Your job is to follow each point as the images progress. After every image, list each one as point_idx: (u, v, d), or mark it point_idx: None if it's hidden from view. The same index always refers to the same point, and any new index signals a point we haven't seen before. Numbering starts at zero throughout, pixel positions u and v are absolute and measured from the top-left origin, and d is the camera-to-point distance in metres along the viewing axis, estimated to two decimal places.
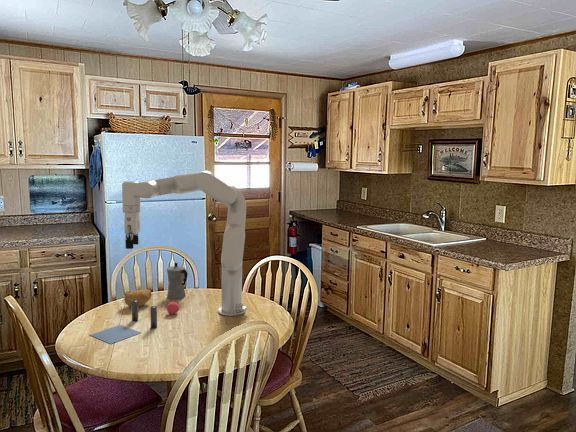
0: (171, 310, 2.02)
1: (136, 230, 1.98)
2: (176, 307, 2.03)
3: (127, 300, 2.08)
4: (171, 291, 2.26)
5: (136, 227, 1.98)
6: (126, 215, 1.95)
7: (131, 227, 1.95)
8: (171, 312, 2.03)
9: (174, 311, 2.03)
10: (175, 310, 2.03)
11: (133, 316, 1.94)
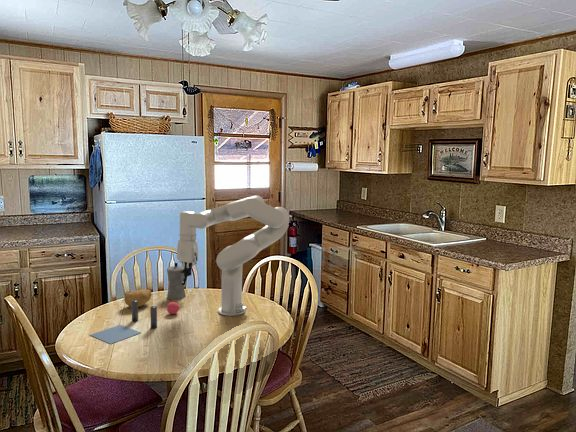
0: (171, 310, 2.02)
1: (178, 256, 2.09)
2: (176, 307, 2.03)
3: (127, 300, 2.08)
4: (171, 291, 2.26)
5: (179, 254, 2.09)
6: None
7: None
8: (171, 312, 2.03)
9: (174, 311, 2.03)
10: (175, 310, 2.03)
11: (133, 316, 1.94)
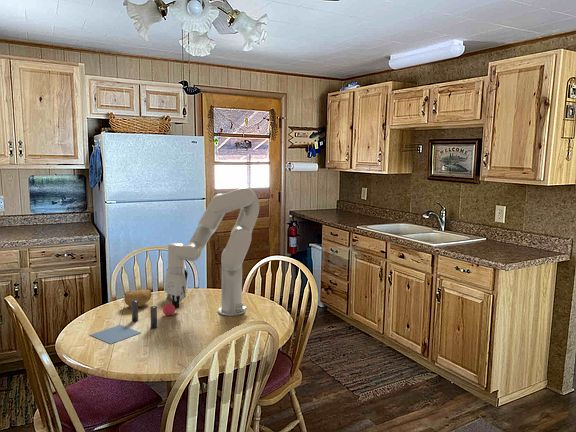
0: (168, 313, 2.01)
1: (166, 289, 2.05)
2: (171, 309, 2.01)
3: (127, 300, 2.08)
4: None
5: (166, 286, 2.05)
6: None
7: None
8: (169, 315, 2.02)
9: (171, 313, 2.01)
10: (172, 312, 2.01)
11: (133, 316, 1.94)
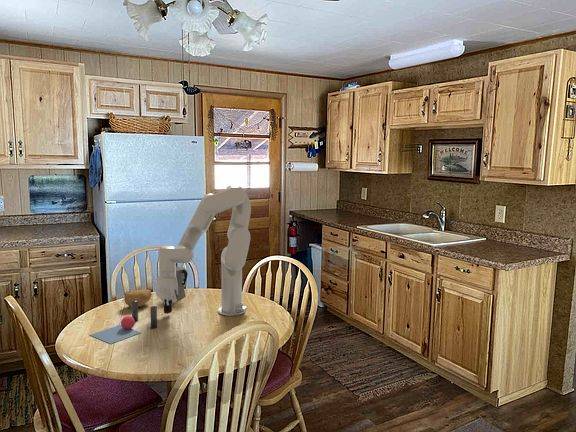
0: None
1: (158, 293, 2.01)
2: (129, 325, 1.84)
3: (127, 300, 2.08)
4: None
5: (158, 290, 2.01)
6: None
7: None
8: None
9: (133, 324, 1.85)
10: (132, 324, 1.85)
11: (133, 316, 1.94)
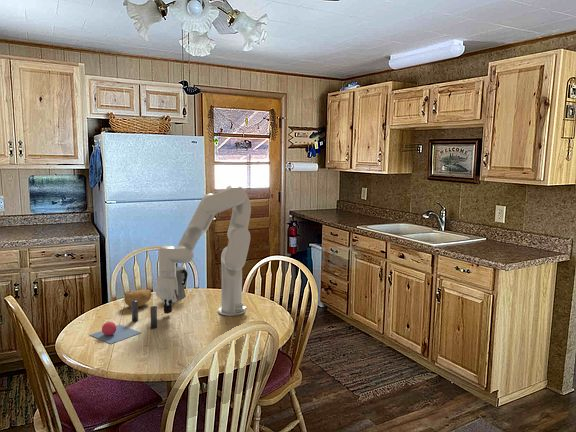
0: (108, 325, 1.77)
1: (158, 293, 2.01)
2: (114, 328, 1.78)
3: (127, 300, 2.08)
4: None
5: (158, 290, 2.01)
6: None
7: None
8: (106, 328, 1.76)
9: (109, 329, 1.76)
10: (111, 329, 1.77)
11: (133, 316, 1.94)
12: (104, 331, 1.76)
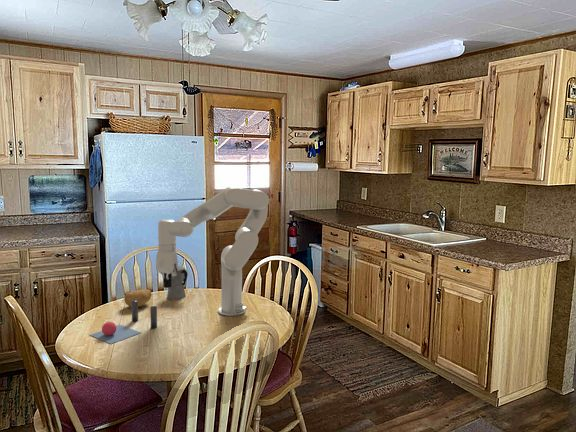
0: (108, 325, 1.77)
1: (157, 267, 1.99)
2: (114, 328, 1.78)
3: (127, 300, 2.08)
4: (171, 291, 2.26)
5: (158, 264, 1.99)
6: None
7: None
8: (106, 328, 1.76)
9: (109, 329, 1.76)
10: (111, 329, 1.77)
11: (133, 316, 1.94)
12: (104, 331, 1.76)
